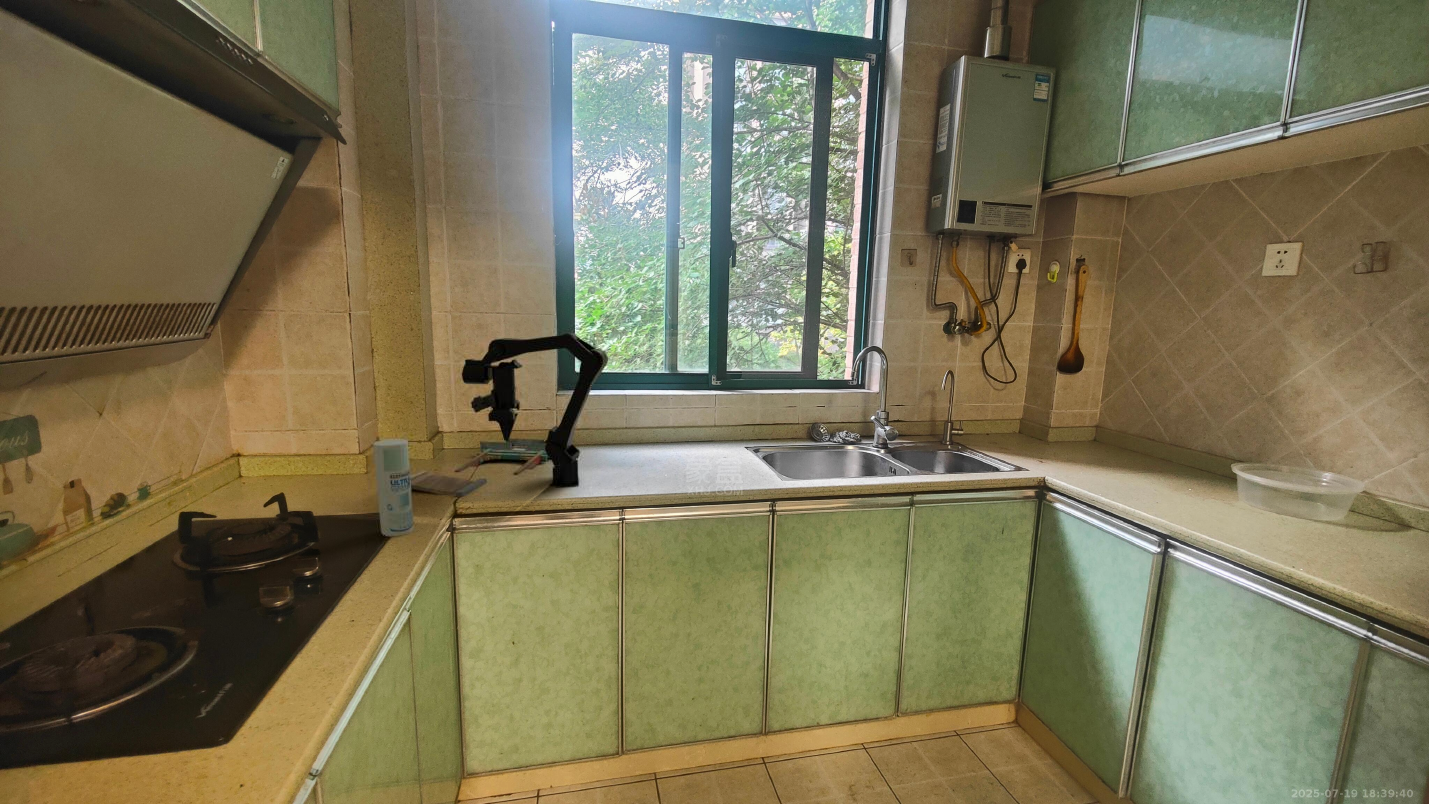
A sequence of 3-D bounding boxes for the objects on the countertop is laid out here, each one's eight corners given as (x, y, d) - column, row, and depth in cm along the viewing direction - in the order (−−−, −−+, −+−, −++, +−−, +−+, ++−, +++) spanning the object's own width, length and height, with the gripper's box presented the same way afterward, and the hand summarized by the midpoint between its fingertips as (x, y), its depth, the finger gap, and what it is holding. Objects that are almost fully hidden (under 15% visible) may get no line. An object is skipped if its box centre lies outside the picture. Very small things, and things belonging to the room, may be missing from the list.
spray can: (392, 539, 124) (385, 447, 120) (374, 532, 127) (366, 443, 124) (420, 529, 129) (414, 440, 126) (402, 523, 132) (395, 437, 129)
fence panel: (473, 480, 159) (422, 470, 160) (452, 492, 149) (397, 481, 150) (473, 485, 159) (422, 475, 161) (451, 497, 149) (397, 487, 150)
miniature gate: (441, 464, 169) (490, 434, 198) (443, 482, 170) (491, 450, 199) (531, 467, 166) (567, 437, 195) (532, 486, 168) (568, 453, 197)
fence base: (487, 485, 160) (486, 478, 159) (463, 500, 148) (462, 492, 147) (480, 485, 160) (479, 478, 159) (455, 499, 148) (455, 492, 148)
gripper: (478, 380, 167) (481, 434, 169) (465, 390, 149) (469, 449, 151) (519, 380, 169) (521, 432, 172) (511, 389, 151) (514, 448, 154)
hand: (506, 440), depth 162 cm, fingers closed
